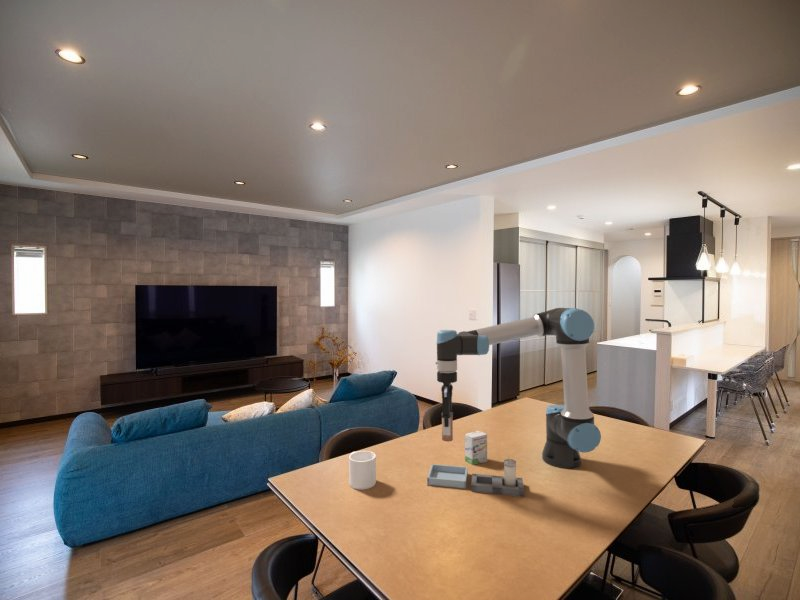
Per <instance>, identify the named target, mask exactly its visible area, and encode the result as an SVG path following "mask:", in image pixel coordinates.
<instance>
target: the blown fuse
mask: <svg viewBox="0 0 800 600" xmlns="http://www.w3.org/2000/svg"><path fill="white" fill-rule="evenodd" d="M453 417H454V412H453V413H452V412H450V429H451V435H443V418H441V440H442V441H443V442H452V441H453V440H454V438H453V437H454V425H453V424H454V421H453Z"/></svg>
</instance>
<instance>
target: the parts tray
mask: <svg viewBox="0 0 800 600" xmlns="http://www.w3.org/2000/svg"><path fill="white" fill-rule="evenodd" d="M468 470H469V469H468V466H460V465H459V466H457V465H446V464H436V463H432V464H431V466H430V469H429V471H428V475H427V478H426V480H427V482H426V484H427V487H429V486H431V487H432V486H433V487H434V486H435V487H442V488H453V489H463V490H466V489H467V480H468Z"/></svg>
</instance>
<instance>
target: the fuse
mask: <svg viewBox="0 0 800 600" xmlns="http://www.w3.org/2000/svg"><path fill="white" fill-rule="evenodd" d="M516 468H517V460H515V459H513V458H505V459H503V476H504V486H512V487H516V478H517V471H516V470H517V469H516Z"/></svg>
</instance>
